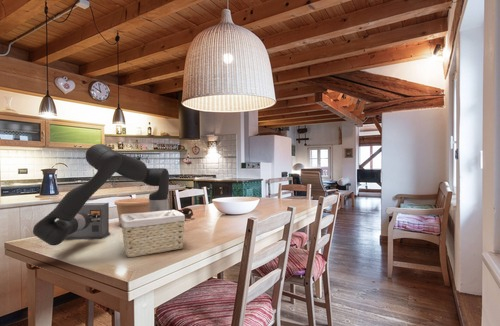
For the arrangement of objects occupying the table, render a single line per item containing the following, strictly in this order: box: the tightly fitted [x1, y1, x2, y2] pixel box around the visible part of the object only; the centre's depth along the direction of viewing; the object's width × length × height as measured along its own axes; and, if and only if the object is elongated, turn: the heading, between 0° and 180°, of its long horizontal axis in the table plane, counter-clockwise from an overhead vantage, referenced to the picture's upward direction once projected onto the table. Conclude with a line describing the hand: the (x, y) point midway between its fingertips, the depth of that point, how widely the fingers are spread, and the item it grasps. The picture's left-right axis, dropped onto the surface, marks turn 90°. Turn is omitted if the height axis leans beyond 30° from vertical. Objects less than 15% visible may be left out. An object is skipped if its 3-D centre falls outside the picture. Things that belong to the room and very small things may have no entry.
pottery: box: [114, 197, 149, 228], centre depth 167 cm, size 22×22×14 cm
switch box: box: [64, 202, 111, 240], centre depth 139 cm, size 8×18×16 cm, turn 94°
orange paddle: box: [91, 210, 101, 220], centre depth 138 cm, size 5×4×4 cm
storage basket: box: [120, 209, 186, 258], centre depth 119 cm, size 24×16×15 cm
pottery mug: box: [176, 207, 194, 220], centre depth 183 cm, size 12×10×8 cm
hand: (95, 215), depth 136 cm, fingers closed
